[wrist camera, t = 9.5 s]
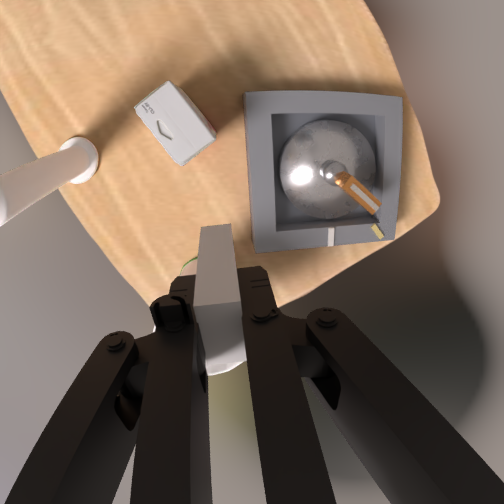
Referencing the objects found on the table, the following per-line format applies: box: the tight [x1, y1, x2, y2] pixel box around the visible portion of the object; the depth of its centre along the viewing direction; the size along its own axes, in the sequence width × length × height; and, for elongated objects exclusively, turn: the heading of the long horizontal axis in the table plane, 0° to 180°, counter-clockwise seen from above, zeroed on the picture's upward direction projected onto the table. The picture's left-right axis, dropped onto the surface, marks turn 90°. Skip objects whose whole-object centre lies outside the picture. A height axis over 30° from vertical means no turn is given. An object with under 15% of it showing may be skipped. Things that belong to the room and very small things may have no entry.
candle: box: [0, 137, 98, 226], centre depth 29 cm, size 7×7×25 cm
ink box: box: [134, 81, 216, 166], centre depth 34 cm, size 9×5×12 cm, turn 36°
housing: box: [243, 90, 403, 253], centre depth 42 cm, size 22×22×5 cm
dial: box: [278, 120, 382, 219], centre depth 40 cm, size 14×14×7 cm
